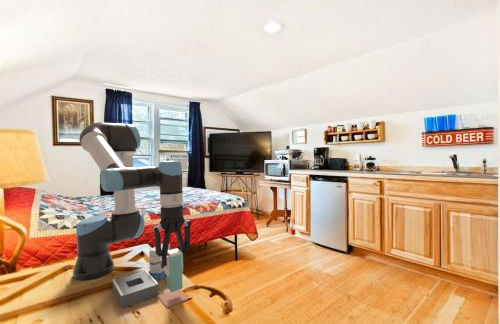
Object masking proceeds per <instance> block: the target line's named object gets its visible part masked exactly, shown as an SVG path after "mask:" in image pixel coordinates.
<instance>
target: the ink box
mask: <svg viewBox="0 0 500 324" xmlns="http://www.w3.org/2000/svg"><path fill="white" fill-rule="evenodd" d="M162 245H163V243H161V250H162ZM168 250H171V244H169V247H168ZM148 254H149V257H148V258H149V260H148V261H149V274H150V275H151V276H152V277H153V278H154V279H155V280H156V281H162V279H163V278H165V277H166V276H165V266H163V265H162V256H160V257H159V256H158V255H157V254H156V250H155V246H153V247H152V248H151V249H149V252H148Z"/></svg>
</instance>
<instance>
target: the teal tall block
mask: <svg viewBox="0 0 500 324" xmlns="http://www.w3.org/2000/svg"><path fill="white" fill-rule="evenodd" d="M181 254H182V253H181V251H180V249H179V248H177V247H175V248H170V250H168V253H167V255H168V256H169V259H170V275H169V276H167V275H166V289H168V291H171V292H174V291H176V290H179V289H182V288H184V287H183V271H182V255H181Z"/></svg>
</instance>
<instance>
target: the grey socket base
mask: <svg viewBox="0 0 500 324" xmlns="http://www.w3.org/2000/svg"><path fill="white" fill-rule="evenodd" d="M112 292H113V294H114V296H115V298H116V300H117V302H118V303H119V305H120V308H121V309H123V308H124V309H125V308H127V307H129V306H132V305H135V304H138V303H141V302H144V301H146V300H149V299H152V298H154V297H155V298H156V297H158V295H159V282H157V280H155V279H154V278H153V277H152V276H151V275H150V272H149V271H148V270H147V269H144V271H140V272H137V273H133V274H130V275H126V276H123V277H120V278H116V279H114V278H113V279H112Z"/></svg>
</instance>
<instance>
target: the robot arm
mask: <svg viewBox="0 0 500 324" xmlns="http://www.w3.org/2000/svg"><path fill="white" fill-rule="evenodd" d="M139 131H140V130H139V129H138V127H136V126H135V124H130V123H117V122H114V123H113V122H100V121H99V122H94V123H90V124H88V125H87V126H86V127H84V129H82V130H81V132H80V133H79V138H78V139H79V140H78V141H79V144H80V146H81V148H82V149H83V151H85V152H87V153H89V154H90V157H92V159H93V160H94V162H95V164H96V165H97V167H98V168H99V170H100V174H99V182H100V185H101V186H100V187H101V188H102V190H103V191H104V192H113V196H114V209H113V210H112V211H111V216H110V217H108V215H107V214H100V215H94V216H93V215H92V216H90V217H86V218H84V219H82V220H80V221H79V222H78V223H77V224H76V230H75V231H76V232H75V236H76V252H77V254H76V255H77V257H76V260H75V265H74V267H73V270H72V275H73V279H75V280H77V281H79V280H80V281H85V280H87V281H88V280H93V279H98V278H101V277H104V276H106V275H108V274H110V273H111V272H113V270H114V269H115V262H114V260H113V257H112V255H111V253H110V247H109V246H110V245H113V244H117V243H120V242H124V241H128V240H133V239H136V238H139V237H140V236H141V235H142V234H143V233H144V229H145V224H146V223H145V218H144V214H143V213H142V212H141V211H140V209H139V208H138V207H137V206H136V197H135V195H136V193H135V190H137V189H147V188H154V187H159V197H160V198H159V199H160V200H159V202H160V203H159V205H160V206H161V207H160V221H159V224H157V225H156V226H155V225H154V226H152V228H151V230H152V231H153V235H154V247H155V250H156V254H157V255H158V256H159V257H160V256H162V265H163V266H165V274H166V277H167V276H169V275H170V259H169V256H168V255H167V253H168V247H169V245H170V240H171V236H172V234H173V233H175V237H176V240H177V244H178V249H179V250H180V251H181V253H182V254H181V255H182V272H184V261H185V260H186V253H187V251H188V250H189V249H191V226H192V223H193V222H192V221H191V220H189V219H185V217H184V205H183V204H184V197H183V196H184V194H183V187H184V186H183V169H182V167H183V166H182V162H181V161H180V160H162V161H159V163H158V165H150V166H135V167H134V158H133V157H134V155H135V154H137V150H138V149H139V148H140V146H141V142H142V141H141V140H142V139H141V135H140V132H139ZM182 227H183V230H182ZM161 229H163V230H164V231H163V239H162V241H161V237H162V236H161ZM182 231H183V232H184V233H182ZM183 234H184V235H183ZM161 244H163V245H162V250H161Z"/></svg>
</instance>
